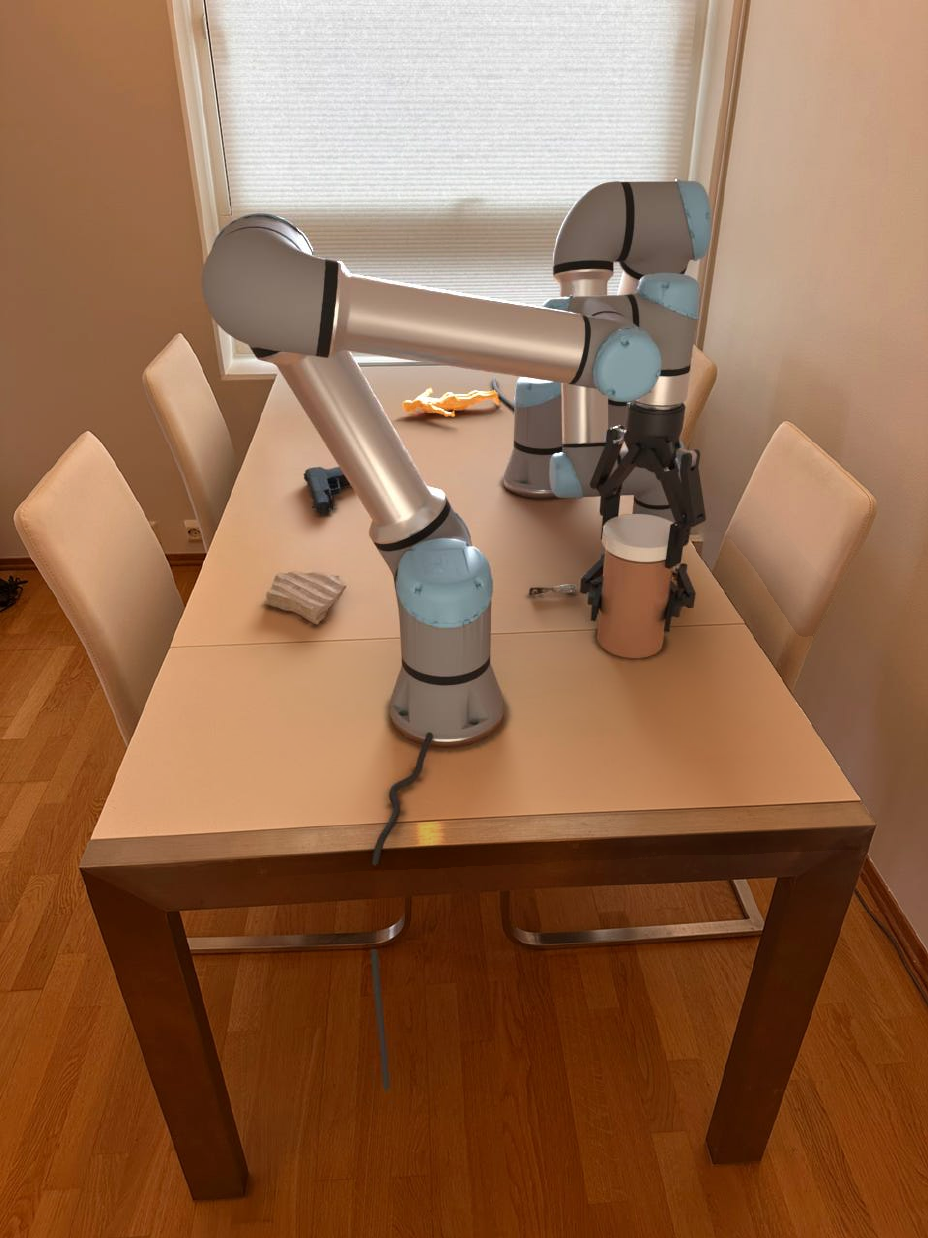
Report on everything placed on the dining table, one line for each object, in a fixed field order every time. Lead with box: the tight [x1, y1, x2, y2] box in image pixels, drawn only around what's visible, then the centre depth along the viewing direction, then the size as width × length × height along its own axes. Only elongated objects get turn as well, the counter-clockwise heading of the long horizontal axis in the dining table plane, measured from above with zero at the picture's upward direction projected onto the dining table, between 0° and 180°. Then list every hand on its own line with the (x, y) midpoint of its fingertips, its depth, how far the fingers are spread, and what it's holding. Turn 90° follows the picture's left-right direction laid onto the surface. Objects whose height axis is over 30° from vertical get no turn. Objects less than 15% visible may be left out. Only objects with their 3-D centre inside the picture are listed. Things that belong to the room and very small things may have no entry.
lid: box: [601, 513, 673, 562], centre depth 127 cm, size 11×11×2 cm
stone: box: [265, 571, 347, 625], centre depth 145 cm, size 13×12×2 cm
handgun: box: [303, 466, 352, 515], centre depth 181 cm, size 3×18×12 cm
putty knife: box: [528, 583, 577, 596], centre depth 147 cm, size 1×8×2 cm, turn 103°
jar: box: [596, 548, 673, 659], centre depth 131 cm, size 10×10×18 cm
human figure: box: [402, 385, 500, 418], centre depth 225 cm, size 20×20×4 cm
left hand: (639, 550), depth 128 cm, fingers closed on lid, 11 cm apart
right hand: (630, 618), depth 129 cm, fingers closed on jar, 10 cm apart
